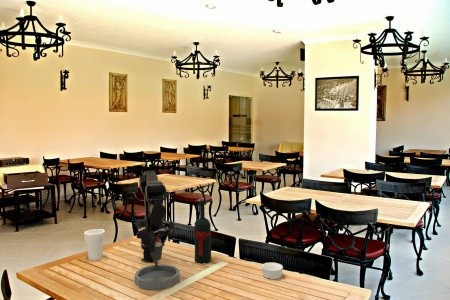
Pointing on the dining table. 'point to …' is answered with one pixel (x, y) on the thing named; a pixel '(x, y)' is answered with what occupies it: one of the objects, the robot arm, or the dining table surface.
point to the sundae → (157, 254)
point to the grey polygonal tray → (157, 277)
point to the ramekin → (272, 270)
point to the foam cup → (94, 243)
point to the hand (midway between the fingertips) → (156, 249)
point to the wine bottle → (202, 237)
